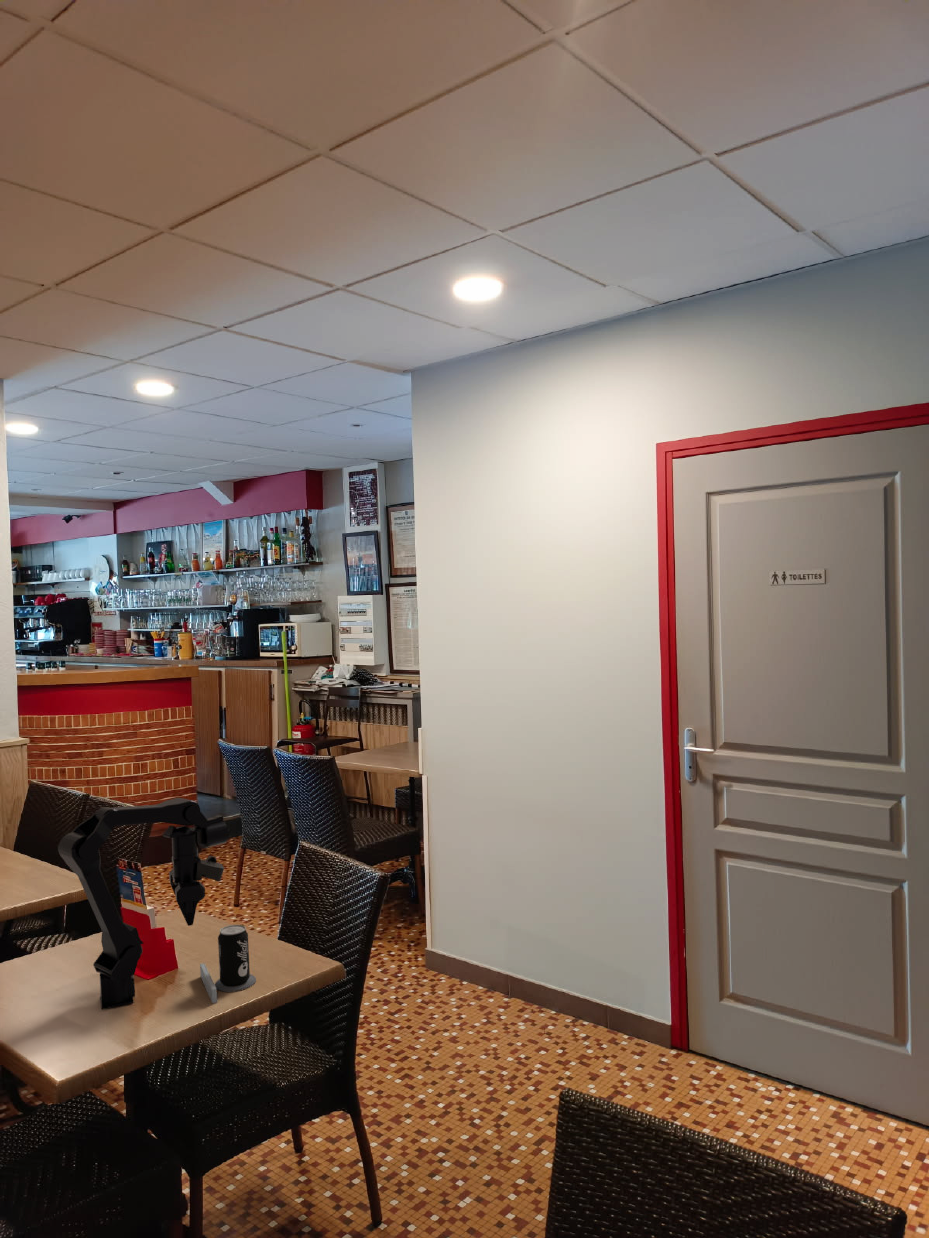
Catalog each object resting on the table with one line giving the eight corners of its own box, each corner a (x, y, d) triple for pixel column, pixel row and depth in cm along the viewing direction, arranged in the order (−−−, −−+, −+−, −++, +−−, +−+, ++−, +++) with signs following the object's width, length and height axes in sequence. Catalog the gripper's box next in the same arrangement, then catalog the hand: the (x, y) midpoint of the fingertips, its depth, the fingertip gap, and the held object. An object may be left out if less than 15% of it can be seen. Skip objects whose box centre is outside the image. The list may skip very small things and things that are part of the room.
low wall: (212, 1003, 194) (211, 989, 194) (200, 976, 209) (200, 963, 209) (217, 1002, 195) (216, 988, 195) (204, 975, 209) (204, 962, 209)
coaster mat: (218, 995, 198) (218, 993, 198) (212, 980, 207) (211, 978, 207) (259, 986, 202) (259, 984, 202) (251, 972, 210) (251, 970, 210)
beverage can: (232, 990, 200) (230, 936, 200) (214, 983, 204) (211, 930, 204) (256, 979, 205) (253, 927, 205) (237, 973, 209) (235, 921, 209)
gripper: (226, 857, 205) (229, 925, 205) (215, 839, 222) (217, 902, 222) (175, 864, 201) (178, 934, 201) (167, 845, 218) (170, 909, 218)
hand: (188, 919), depth 211 cm, fingers open, 9 cm apart
